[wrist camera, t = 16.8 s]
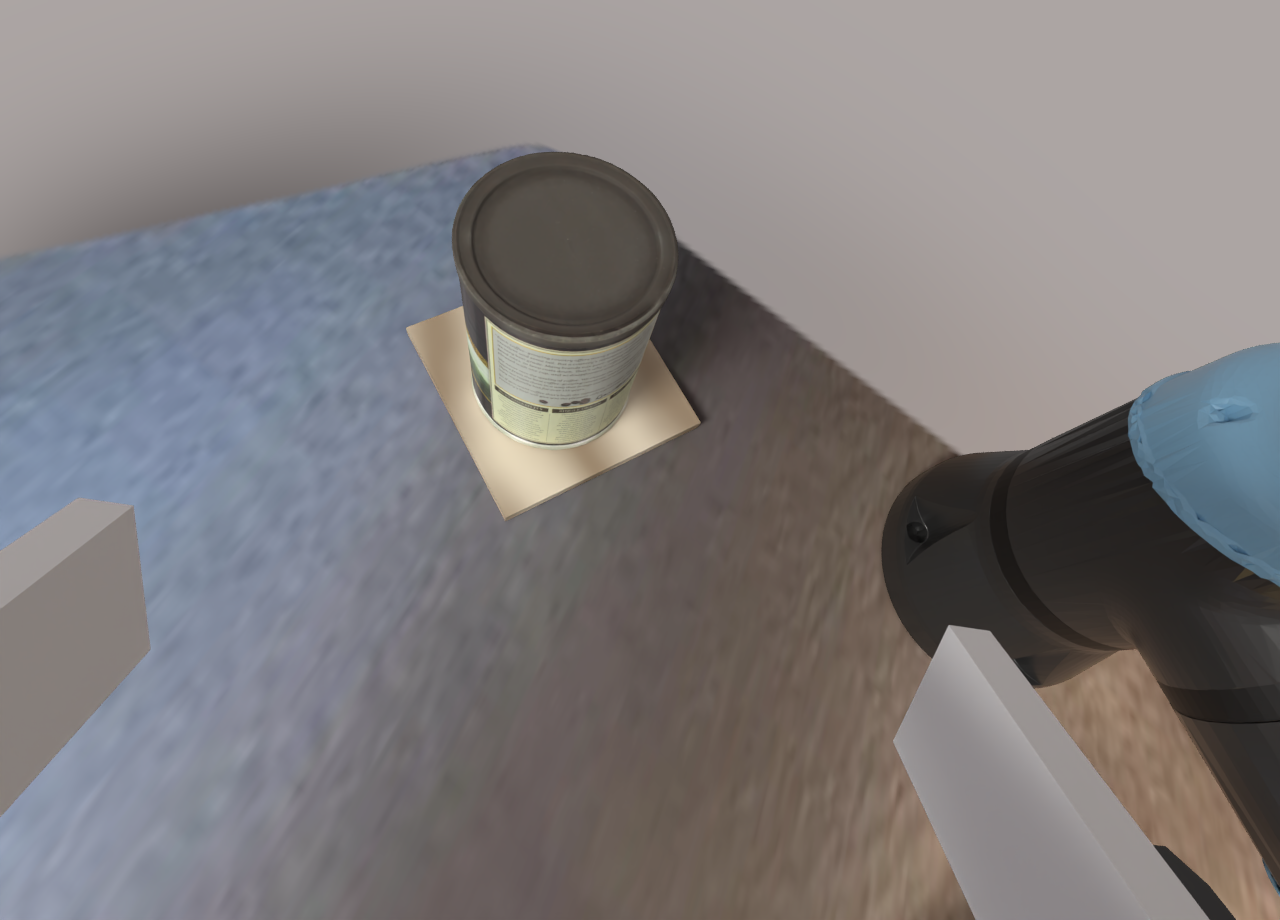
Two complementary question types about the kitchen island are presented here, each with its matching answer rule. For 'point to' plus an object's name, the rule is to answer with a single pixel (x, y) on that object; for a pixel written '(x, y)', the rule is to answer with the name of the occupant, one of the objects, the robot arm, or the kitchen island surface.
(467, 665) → the kitchen island surface
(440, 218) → the kitchen island surface
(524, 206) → the coffee can
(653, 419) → the birch board
